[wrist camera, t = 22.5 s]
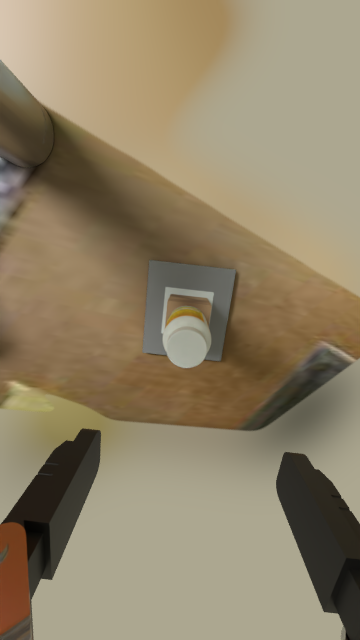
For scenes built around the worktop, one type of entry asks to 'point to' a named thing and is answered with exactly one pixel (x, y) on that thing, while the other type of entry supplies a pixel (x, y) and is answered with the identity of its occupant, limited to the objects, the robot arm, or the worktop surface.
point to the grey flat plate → (189, 283)
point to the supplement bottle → (186, 337)
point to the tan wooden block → (182, 300)
